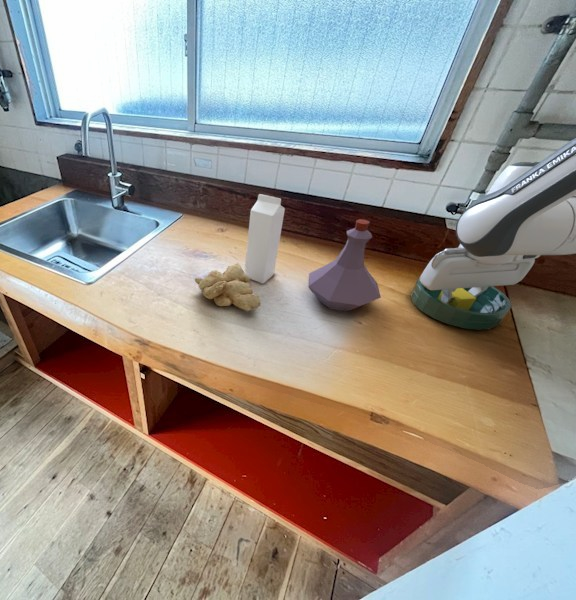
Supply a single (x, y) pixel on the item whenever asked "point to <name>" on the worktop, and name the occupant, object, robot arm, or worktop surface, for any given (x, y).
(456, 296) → the yellow block
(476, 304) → the bowl
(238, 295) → the ginger root
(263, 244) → the milk
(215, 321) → the worktop surface
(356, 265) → the flask
